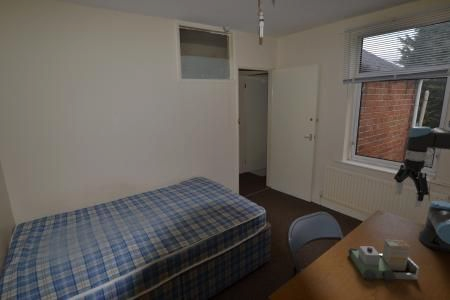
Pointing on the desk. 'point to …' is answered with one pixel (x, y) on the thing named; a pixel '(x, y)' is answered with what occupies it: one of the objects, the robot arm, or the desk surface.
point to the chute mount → (407, 271)
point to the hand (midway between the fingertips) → (407, 200)
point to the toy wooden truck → (370, 263)
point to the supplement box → (395, 254)
